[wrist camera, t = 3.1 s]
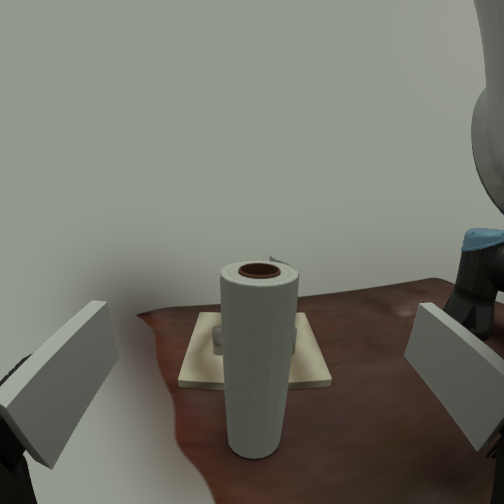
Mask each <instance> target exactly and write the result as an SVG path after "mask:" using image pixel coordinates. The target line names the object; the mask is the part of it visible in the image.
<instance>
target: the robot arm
mask: <svg viewBox="0 0 504 504" xmlns="http://www.w3.org/2000/svg"><path fill="white" fill-rule="evenodd" d="M474 4H475V7H476V11H477V16H478V21H479V26H480V31H481V37H482V44H483V51H484V60H485V73H486V88H485V89H484V90H483V91H482V93H481V95H480V96H479V98H478V100H477V102H476V105H475V108H474V111H473V117H472V125H471V137H472V138H471V139H472V149H473V156H474V161H475V165H476V170H477V172H478V175H479V178H480V180H481V183H482V184H483V187H484V189H485V190H486V193H487V194H488V196H489V197H490V199H491V200H492V202H493V203H494V204H495V206H496V207H497V208H498V209H499V211H500V212H501V213H502V214H503V215H504V0H474ZM461 251H462V254H461V260H460V265H459V270H458V275H457V279H456V283H455V288H454V291H453V293H452V295H451V296H450V298H449V300H448V301H447V303H446V305H445V307H444V308H443V310H441V309H440V308H438V307H437V306H436V305H434V304H433V303H432V302H431V303H421V304H419V307H418V311H417V314H416V318H415V322H414V325H413V329H412V332H411V336H410V339H409V342H408V345H407V349H406V352H405V355H404V356H405V357H406V359H407V360H408V361H409V362H410V364H411V365H412V366H413V367H414V368H415V370H416V371H417V372H418V373H419V375H420V376H421V377H422V378H423V380H424V381H425V382H426V384H427V385H428V386H429V387H430V389H431V390H432V391H433V392H434V394H435V395H436V396H437V398H438V399H439V400H440V402H441V403H442V404H443V406H444V407H445V408H446V409H447V411H448V412H449V413H450V415H451V416H452V418H453V419H454V420H455V422H456V423H457V424H458V426H459V427H460V428H461V430H462V431H463V433H464V434H465V435H466V437H467V438H468V440H469V441H470V443H471V444H472V445H473V447H474V448H475V450H476V451H477V452H478V451H479V450H481V449H482V448H484V447H485V446H487V445H489V444H490V443H491V441H492V440H493V439H494V438H495V436H496V435H497V434H498V432H500V434H501V435H502V436H501V437H500V438H499V439H498V441H497V442H496V443H495V444H494V446H493V447H492V448H491V449H490V451H489V452H488V453H487V456H486V458H488V457H489V456H490V455H491V454H492V453H493V452H494V450H496V449H497V451H496V452H495V453H494V454H493V456H492V457H491V458H496V468H495V478H494V485H493V492H492V497H491V503H490V504H504V360H503V359H502V358H501V357H500V356H499V355H498V354H496V353H495V352H494V351H493V350H492V349H490V348H489V347H488V346H487V345H486V344H484V343H483V342H482V341H483V340H486V339H488V338H489V337H490V335H491V332H492V329H493V325H494V323H493V321H494V305H495V299H496V295H497V292H498V291H501V292H504V230H497V229H486V228H474V229H470V230H468V231H467V232H466V233H465V236H464V241H463V246H462V248H461ZM118 359H119V354H118V350H117V346H116V342H115V337H114V334H113V328H112V324H111V319H110V314H109V309H108V303H107V302H103V301H94V300H92V301H91V302H90V303H89V304H88V305H86V306H85V307H84V308H83V309H82V310H81V311H79V312H78V313H77V314H76V315H75V316H74V317H73V318H71V319H70V320H69V321H68V322H67V323H66V324H65V325H64V326H62V327H61V328H60V329H59V330H58V331H57V332H56V333H55V334H54V335H53V336H51V337H50V338H49V339H48V340H47V341H46V342H45V343H44V344H43V345H42V346H41V347H40V348H38V349H37V350H36V352H34V353H33V354H31V355H29V356H27V357H25V358H23V359H22V360H21V361H20V362H19V363H18V364H17V365H16V366H15V369H14V368H13V369H12V370H11V371H10V372H9V373H8V375H6V376H5V377H4V378H3V379H2V380H1V381H0V504H37V501H36V498H35V495H34V490H33V487H32V483H31V479H30V474H29V470H28V465H27V461H26V459H25V457H24V456H23V453H24V451H25V450H27V452H28V453H29V454H30V455H31V457H32V458H33V459H34V460H35V461H37V462H39V463H41V464H42V465H44V466H46V467H48V468H50V469H53V467H54V465H55V463H56V462H57V459H58V458H59V456H60V454H61V452H62V451H63V449H64V447H65V445H66V443H67V442H68V440H69V438H70V436H71V435H72V433H73V431H74V429H75V428H76V426H77V424H78V422H79V421H80V419H81V418H82V416H83V414H84V413H85V411H86V409H87V407H88V406H89V404H90V403H91V401H92V399H93V398H94V396H95V395H96V393H97V391H98V390H99V388H100V386H101V385H102V383H103V382H104V380H105V379H106V377H107V375H108V374H109V372H110V371H111V369H112V368H113V366H114V365H115V363H116V362H117V360H118Z"/></svg>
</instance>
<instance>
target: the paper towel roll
mask: <svg viewBox="0 0 504 504" xmlns="http://www.w3.org/2000/svg"><path fill="white" fill-rule="evenodd" d="M298 283H299V272H298V271H297V270H296V269H294V268H293V267H292V266H291V265H289V264H288V263H285V262H283V261H280V260H277V259H275V258H273V257H272V256H271V255H270V261H243V262H236V263H233V264H230V265H227V266H225V267H224V268H222V269H221V270H220V289H221V290H220V291H221V324H222V348H223V369H224V387H225V403H226V418H227V432H228V443H229V446H230V447H231V448H232V450H233V451H234V452H235V453H237V454H238V455H240V456H242V457H245V458H250V459H257V458H264V457H266V456H268V455H270V454H272V453H273V452H274V451H275V450H276V449H277V448H278V446H279V442H280V437H281V431H282V425H283V418H284V411H285V404H286V397H287V389H288V382H289V374H290V365H291V357H292V348H293V338H294V329H295V318H296V307H297V296H298Z"/></svg>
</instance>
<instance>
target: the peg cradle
mask: <svg viewBox="0 0 504 504" xmlns="http://www.w3.org/2000/svg"><path fill="white" fill-rule="evenodd" d="M331 381H332V378H331V376H330V373H329V371H328V368H327V366H326V363H325V361H324V359H323V356H322V354H321V351H320V349H319V346H318V344H317V342H316V339H315V337H314V334H313V332H312V330H311V327H310V325H309V323H308V320H307V318H306V316H305V313H296V318H295V329H294V338H293V348H292V357H291V365H290V374H289V382H288V389H287V390H294V389H309V388H320V387H330V385H331ZM178 384H179V387H182V388H194V389H209V390H225V387H224V369H223V348H222V324H221V313H209V312H200V314H199V317H198V320H197V323H196V326H195V329H194V331H193V334H192V337H191V341H190V344H189V347H188V350H187V353H186V356H185V359H184V362H183V365H182V368H181V371H180V374H179V378H178Z"/></svg>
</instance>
